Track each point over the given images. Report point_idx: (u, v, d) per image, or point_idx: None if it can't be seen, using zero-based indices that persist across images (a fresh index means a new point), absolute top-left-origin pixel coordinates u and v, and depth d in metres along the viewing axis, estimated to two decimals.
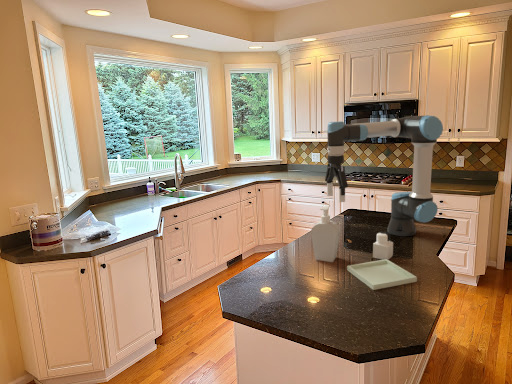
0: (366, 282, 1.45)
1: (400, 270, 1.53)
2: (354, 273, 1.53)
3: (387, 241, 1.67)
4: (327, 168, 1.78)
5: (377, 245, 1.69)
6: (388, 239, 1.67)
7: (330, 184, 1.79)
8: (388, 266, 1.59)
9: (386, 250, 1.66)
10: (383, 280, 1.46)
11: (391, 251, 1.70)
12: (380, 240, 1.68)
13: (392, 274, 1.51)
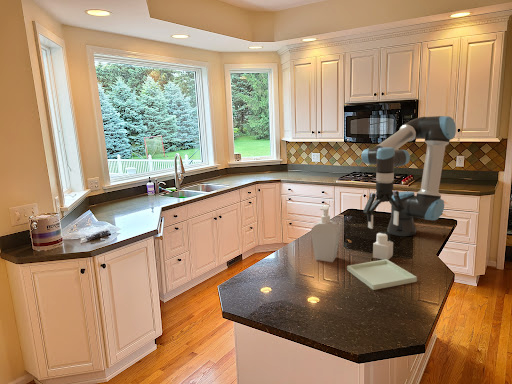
0: (366, 282, 1.45)
1: (400, 270, 1.53)
2: (354, 273, 1.53)
3: (387, 241, 1.67)
4: None
5: (377, 245, 1.69)
6: (388, 239, 1.67)
7: (395, 212, 1.69)
8: (388, 266, 1.59)
9: (386, 250, 1.66)
10: (383, 280, 1.46)
11: (391, 251, 1.70)
12: (380, 240, 1.68)
13: (392, 274, 1.51)
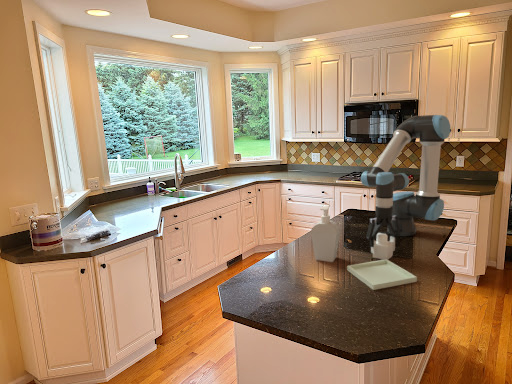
0: (366, 282, 1.45)
1: (400, 270, 1.53)
2: (354, 273, 1.53)
3: (387, 241, 1.67)
4: None
5: (377, 245, 1.69)
6: (388, 239, 1.67)
7: (392, 238, 1.71)
8: (388, 266, 1.59)
9: (386, 250, 1.66)
10: (383, 280, 1.46)
11: (391, 251, 1.70)
12: (380, 240, 1.68)
13: (392, 274, 1.51)
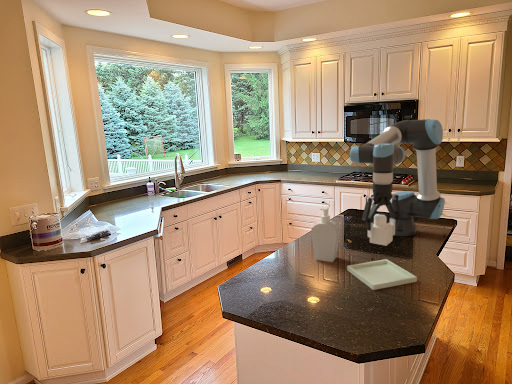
0: (366, 282, 1.45)
1: (400, 270, 1.53)
2: (354, 273, 1.53)
3: (386, 223, 1.45)
4: None
5: (374, 228, 1.46)
6: (387, 221, 1.45)
7: (391, 220, 1.49)
8: (388, 266, 1.59)
9: (385, 233, 1.44)
10: (383, 280, 1.46)
11: (391, 236, 1.48)
12: (378, 222, 1.45)
13: (392, 274, 1.51)
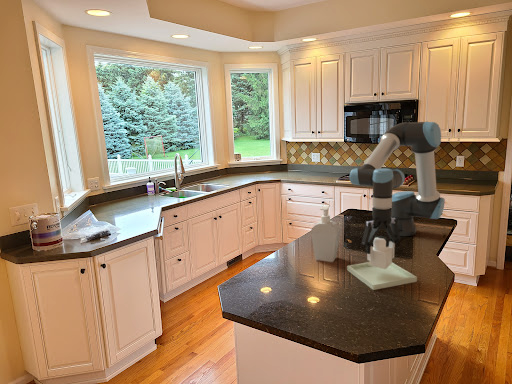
0: (366, 282, 1.45)
1: (400, 270, 1.53)
2: (354, 273, 1.53)
3: (385, 247, 1.47)
4: None
5: (374, 251, 1.48)
6: (386, 245, 1.47)
7: (391, 243, 1.51)
8: None
9: (384, 257, 1.46)
10: (383, 280, 1.46)
11: (390, 259, 1.50)
12: (377, 246, 1.47)
13: (392, 274, 1.51)
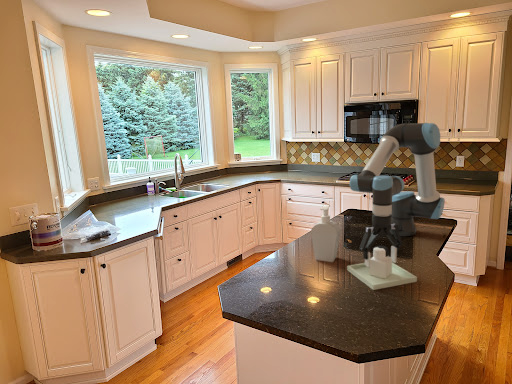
0: (366, 282, 1.45)
1: (400, 270, 1.53)
2: (354, 273, 1.53)
3: (385, 257, 1.48)
4: None
5: (374, 261, 1.49)
6: (386, 254, 1.48)
7: (393, 248, 1.51)
8: None
9: (384, 267, 1.47)
10: (383, 280, 1.46)
11: (390, 268, 1.51)
12: (377, 256, 1.48)
13: (392, 274, 1.51)
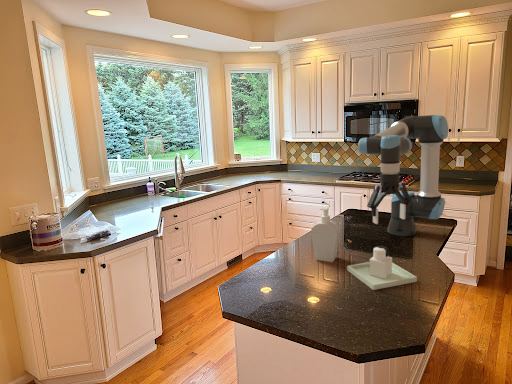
0: (366, 282, 1.45)
1: (400, 270, 1.53)
2: (354, 273, 1.53)
3: (385, 257, 1.48)
4: None
5: (374, 261, 1.49)
6: (386, 254, 1.48)
7: (402, 205, 1.56)
8: None
9: (384, 267, 1.47)
10: (383, 280, 1.46)
11: (390, 268, 1.51)
12: (377, 256, 1.48)
13: (392, 274, 1.51)
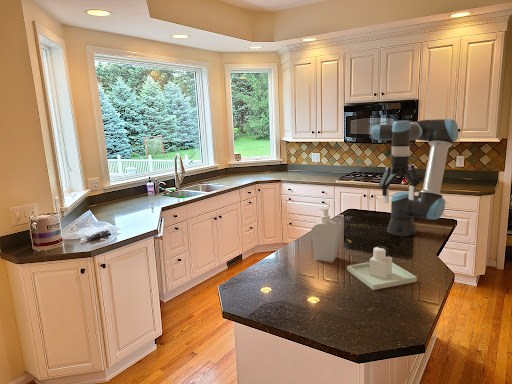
0: (366, 282, 1.45)
1: (400, 270, 1.53)
2: (354, 273, 1.53)
3: (385, 257, 1.48)
4: None
5: (374, 261, 1.49)
6: (386, 254, 1.48)
7: (411, 187, 1.68)
8: None
9: (384, 267, 1.47)
10: (383, 280, 1.46)
11: (390, 268, 1.51)
12: (377, 256, 1.48)
13: (392, 274, 1.51)
